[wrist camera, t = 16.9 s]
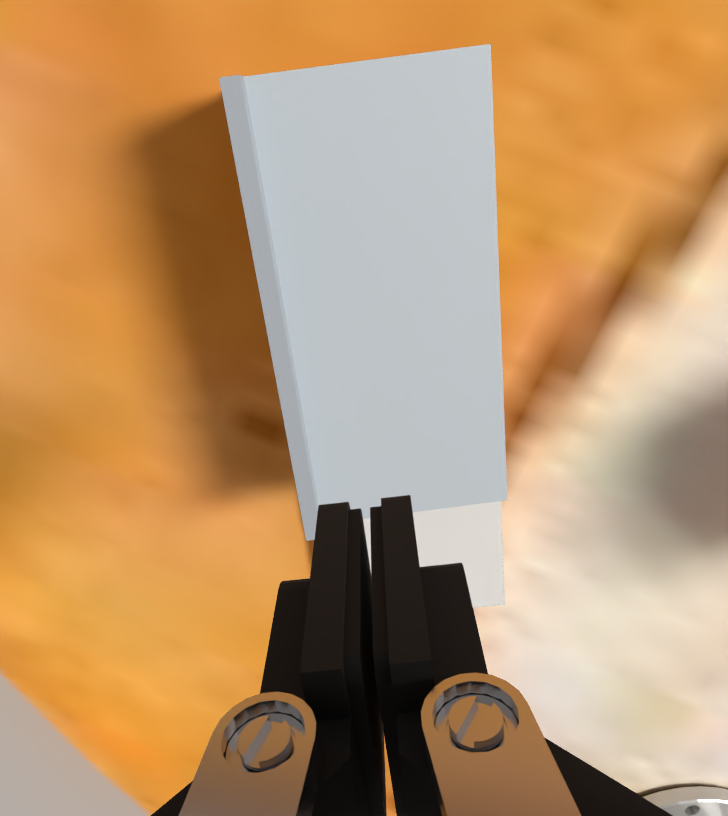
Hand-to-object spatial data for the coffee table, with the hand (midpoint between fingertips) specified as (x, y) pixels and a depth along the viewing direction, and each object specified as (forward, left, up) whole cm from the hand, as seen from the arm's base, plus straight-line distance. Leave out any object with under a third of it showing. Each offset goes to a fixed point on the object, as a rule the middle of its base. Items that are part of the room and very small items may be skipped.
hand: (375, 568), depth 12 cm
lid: (+1, -1, -13) cm, 13 cm away
